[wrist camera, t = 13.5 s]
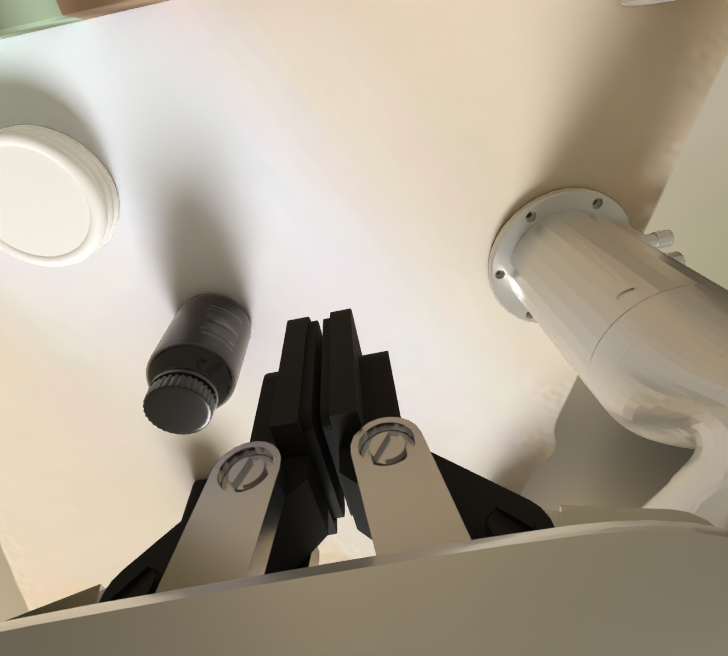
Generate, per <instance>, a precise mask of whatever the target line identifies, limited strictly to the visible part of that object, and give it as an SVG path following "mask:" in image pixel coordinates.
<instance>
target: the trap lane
mask: <svg viewBox="0 0 728 656" xmlns="http://www.w3.org/2000/svg"><path fill="white" fill-rule="evenodd" d="M164 1H168V0H0V39H4V38H8V37H12V36H17V35H21V34H25V33H30V32H34V31H38V30H43V29H47V28H51V27H56V26H60V25H64V24H69V23H73V22H77V21H82V20H86V19H90V18H95V17H99V16H103V15H108V14H112V13H116V12H121V11H125V10H129V9H134V8H138V7H142V6H147V5H151V4H155V3H160V2H164Z"/></svg>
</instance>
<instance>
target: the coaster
mask: <svg viewBox="0 0 728 656" xmlns="http://www.w3.org/2000/svg"><path fill="white" fill-rule="evenodd" d="M119 213H120V205H119V198H118V194H117V190H116V187H115V185H114V183H113V180H112V178H111V177H110V175H109V173H108V172H107V170H106V169H105V167H104V166H103V165H102V163H101V162H100V161H99V160H98V159H97V158H96V157H95V156H94V155H93V154H92V153H91V152H90V151H89V150H88V149H87V148H86V147H84V146H83V145H81V144H80V143H79V142H77V141H76V140H74V139H72V138H71V137H69V136H67V135H65V134H63V133H60V132H58V131H55V130H52V129H49V128H46V127H41V126H35V125H16V126H12V127H6V128H2V129H0V249H1V250H3V251H5V252H7V253H8V254H10V255H12V256H14V257H16V258H18V259H21V260H23V261H26V262H29V263H33V264H37V265H42V266H53V267H58V266H67V265H71V264H76V263H78V262H81V261H83V260H85V259H86V258H88V257H90V256H91V255H92V254H93V253H94V252H96V251H97V250H98V249H99V248H101V247H102V246H103V245H104V244H106V243H107V242H108V240H109V239H110V238H111V237H112V235H113V233H114V232H115V229H116V227H117V224H118V220H119Z"/></svg>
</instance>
